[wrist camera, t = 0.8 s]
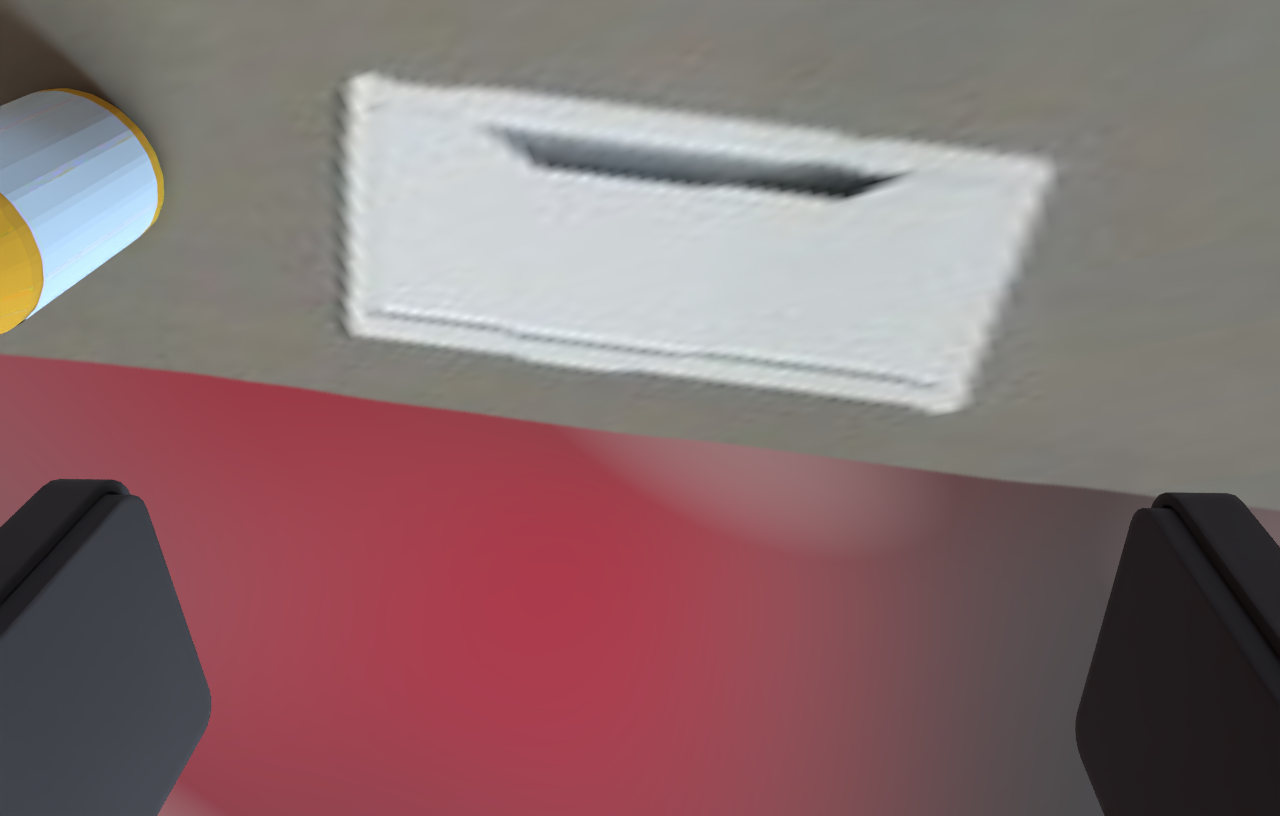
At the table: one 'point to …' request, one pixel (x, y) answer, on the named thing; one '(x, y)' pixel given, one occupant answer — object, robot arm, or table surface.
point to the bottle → (68, 194)
